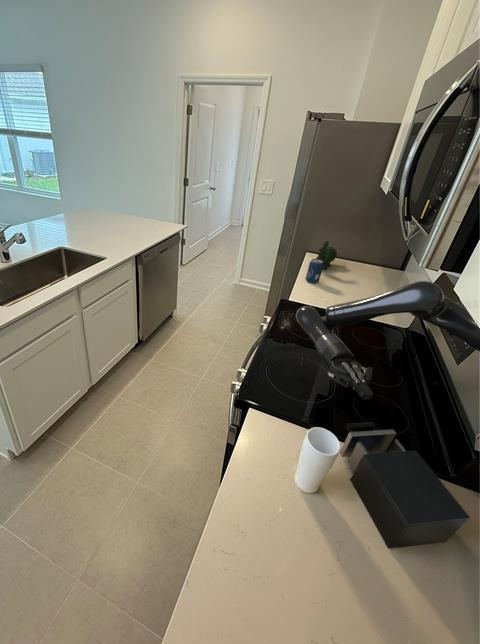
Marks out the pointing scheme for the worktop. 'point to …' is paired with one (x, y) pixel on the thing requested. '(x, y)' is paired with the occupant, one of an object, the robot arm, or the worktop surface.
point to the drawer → (368, 442)
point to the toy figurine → (326, 255)
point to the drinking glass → (316, 458)
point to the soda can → (314, 271)
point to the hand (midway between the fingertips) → (369, 397)
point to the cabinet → (406, 499)
